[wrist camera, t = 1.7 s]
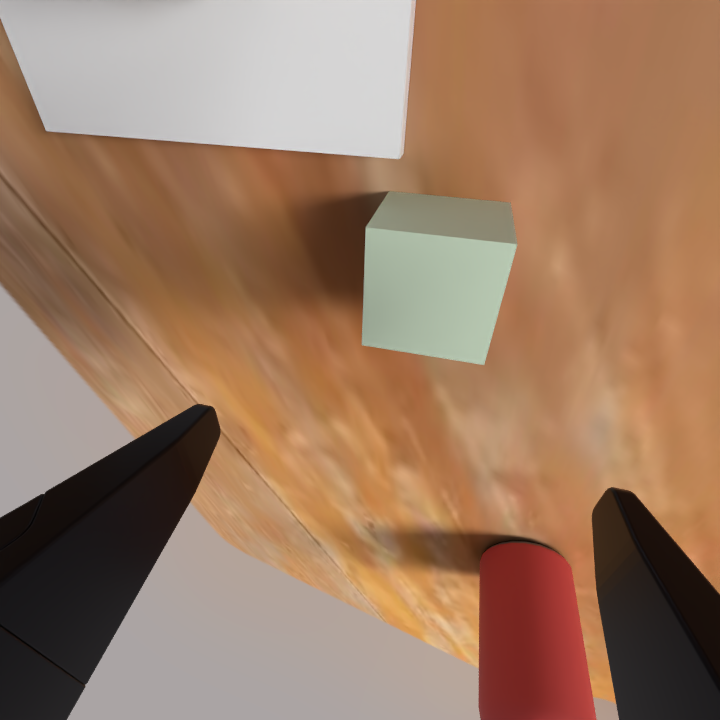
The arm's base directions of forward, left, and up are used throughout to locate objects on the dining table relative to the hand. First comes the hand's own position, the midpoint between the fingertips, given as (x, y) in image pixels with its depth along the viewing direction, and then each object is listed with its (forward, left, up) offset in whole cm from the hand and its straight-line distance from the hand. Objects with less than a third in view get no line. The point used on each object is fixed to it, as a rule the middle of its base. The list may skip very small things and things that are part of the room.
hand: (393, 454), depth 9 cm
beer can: (-10, +24, -12) cm, 29 cm away
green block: (0, 0, -12) cm, 12 cm away
